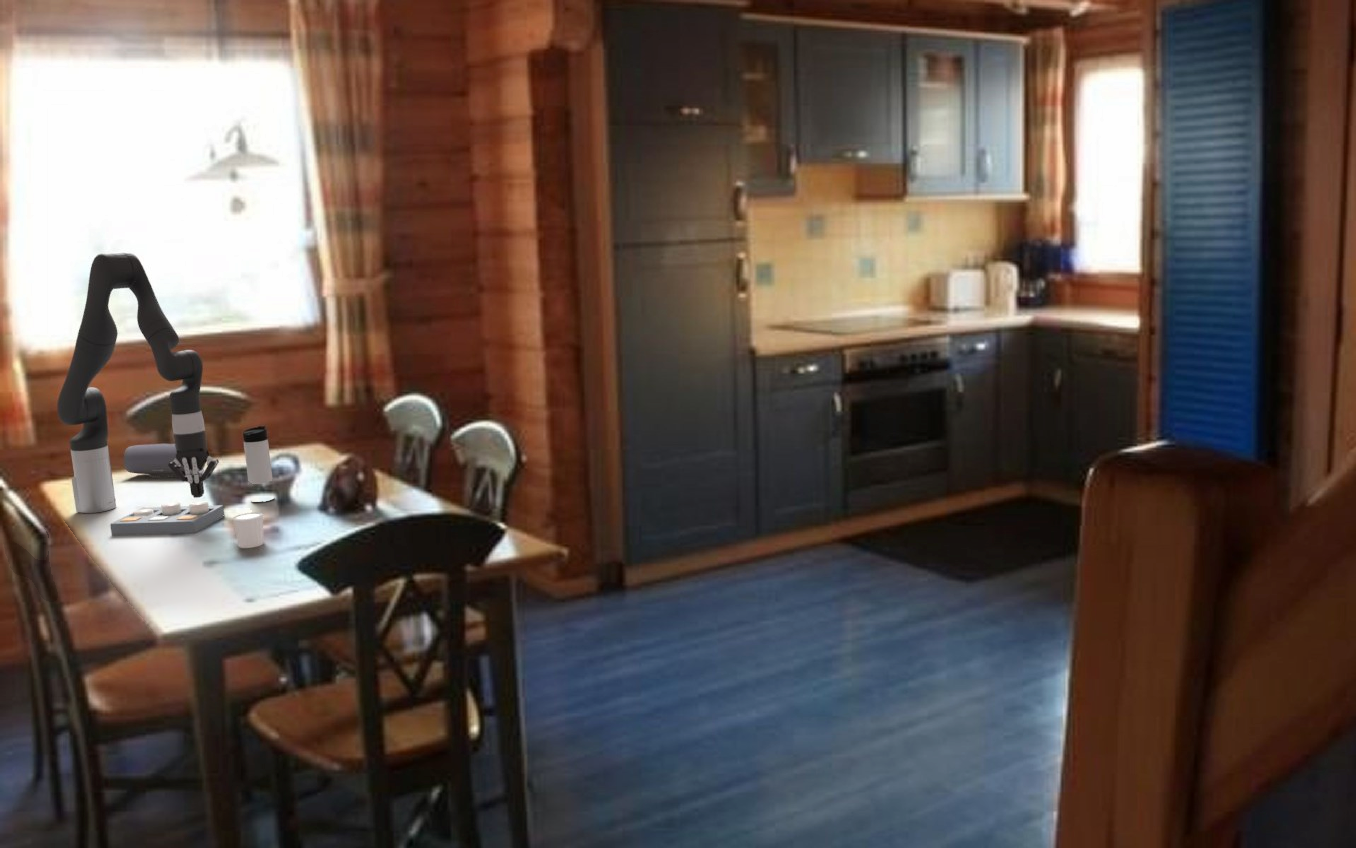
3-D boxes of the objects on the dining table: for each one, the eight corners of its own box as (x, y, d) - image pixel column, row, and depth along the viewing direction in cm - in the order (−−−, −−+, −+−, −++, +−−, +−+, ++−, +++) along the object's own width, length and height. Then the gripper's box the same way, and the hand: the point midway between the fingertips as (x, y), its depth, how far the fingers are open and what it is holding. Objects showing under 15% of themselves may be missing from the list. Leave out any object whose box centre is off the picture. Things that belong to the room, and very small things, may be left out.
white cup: (238, 550, 303) (234, 521, 302) (233, 544, 309) (230, 515, 308) (268, 545, 306) (265, 516, 305) (263, 539, 312) (260, 510, 311)
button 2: (187, 517, 329) (185, 506, 329) (195, 513, 334) (194, 501, 333) (204, 517, 329) (202, 505, 328) (212, 512, 333) (211, 501, 333)
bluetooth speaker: (209, 472, 395) (205, 440, 394) (191, 479, 387) (187, 446, 385) (143, 473, 401) (139, 441, 399) (124, 480, 392) (120, 447, 390)
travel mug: (280, 497, 355) (272, 425, 351) (263, 503, 349) (254, 430, 345) (262, 496, 358) (254, 425, 354) (245, 502, 352) (236, 430, 348)
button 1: (132, 525, 331) (130, 513, 331) (141, 520, 336) (139, 509, 335) (149, 524, 331) (147, 513, 330) (158, 519, 335) (156, 508, 335)
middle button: (159, 518, 330) (157, 507, 330) (168, 514, 335) (166, 502, 334) (176, 518, 330) (174, 506, 329) (184, 513, 334) (183, 502, 334)
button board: (111, 535, 324) (110, 523, 324) (144, 518, 340) (143, 506, 339) (195, 533, 322) (193, 520, 321) (224, 516, 337) (223, 504, 337)
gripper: (220, 426, 330) (229, 492, 333) (171, 428, 332) (180, 494, 335) (206, 431, 323) (216, 499, 326) (156, 434, 324) (166, 501, 328)
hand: (198, 496), depth 330 cm, fingers closed
